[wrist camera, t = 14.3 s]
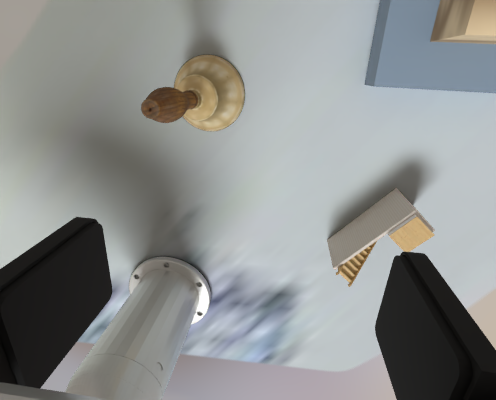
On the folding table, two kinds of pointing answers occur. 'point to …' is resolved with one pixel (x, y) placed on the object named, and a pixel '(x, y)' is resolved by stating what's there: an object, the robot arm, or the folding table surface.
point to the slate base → (425, 53)
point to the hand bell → (199, 95)
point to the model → (377, 233)
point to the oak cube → (465, 22)
